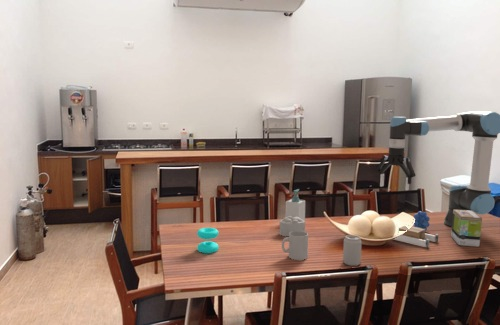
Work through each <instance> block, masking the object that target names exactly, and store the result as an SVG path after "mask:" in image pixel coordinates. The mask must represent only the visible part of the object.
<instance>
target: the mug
mask: <svg viewBox="0 0 500 325" xmlns="http://www.w3.org/2000/svg"><path fill="white" fill-rule="evenodd" d="M286 242H288V248H285V243H286ZM308 249H309V233H308V232H306V231H305V232H304V231H292V232H290V233H289V237H284V238H283V239H282V241H281V250H282V251H283V253H287V254H288V257H289V259H290V258H291V259H290V260H293V259H294V260H293V261H305V260H307V259H308V257H309V254H308V253H309V251H308ZM304 259H305V260H304Z"/></svg>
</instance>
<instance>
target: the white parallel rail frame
mask: <svg viewBox="0 0 500 325" xmlns="http://www.w3.org/2000/svg"><path fill="white" fill-rule="evenodd" d="M439 236H440V234H439V233H435V235H434V234H429V233H426V232H425V240H422V239H417V238H413V237H409V236H404V235H401V236H399V237H397V238H395V239H393V240H394V241H398V242H402V243H407V244H411V245H414V246H419V247H423V248H427V249H428V248H430V242H434V243H439Z"/></svg>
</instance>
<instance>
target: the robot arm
mask: <svg viewBox="0 0 500 325" xmlns="http://www.w3.org/2000/svg"><path fill="white" fill-rule="evenodd" d="M452 130H453V131H455V132H469V133H472V135H471V137H472V138H473V139H474V145H473V146H474V147H473V154H472V155H473V156H472V165H471V172H470V182H469V184H452V185H450V187H449V190H448V192H449V195H448V209H447V212H446V214H445V217H444V219H443V220H444V221H443V223H444V225H447V226H449V227H452V217H453V210H470V211H474V212H475V213H477V214H478V215H480V216H483V215H486V214H489V213H490V212H491V211H492V210H493V209H494V207H495V203H496V201H495V198H494V196H493V195H492V189H491V188H490V187H489V186H490V185H489V182H490V181H489V180H490V175H491V174H490V173H491V166H492V159H493V158H492V155H493V148H494V141H495V140H497V139H498V135H499V134H500V113H498V112H497V111H490V110H487V111H485V110H484V111H483V110H481V111H480V110H471V111H466V112H460V113H454V114H453V115H449V116H447V115H446V116H435V117H422V118H408V119H407V117H406V116H392V117H391V118H390V124H389V141H388V142H389V143H388V146H389V147H388V155H385V154H384V155H382V157H381V161H380V163H379V165H378V166H377V168H376V170H375V173H378V180H379V181H380V182H379V187H381V188H382V187H384V185H385V171H386V170H388V169H389V168H390V166H396V167H400V168H401V170H402V171H403V173H404V174H405V175H406V177H405V188H404V190H405V192H406V191H409V190H410V185H411V184H412V178H413V177H416V175H417V174H416V173H415V170H414V168H413V166H412V163H411V157H405V146H406V137H408V136H415V137H416V136H420V137H421V136H426V135H427V134H428V133H430V132H436V131H437V132H440V131H441V132H442V131H452ZM386 161H388V162H387V163H386ZM404 162H405V163H404ZM385 163H386V164H385ZM405 164H406V165H405ZM383 166H384V167H383ZM406 166H407V167H406Z"/></svg>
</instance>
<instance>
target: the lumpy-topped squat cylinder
mask: <svg viewBox="0 0 500 325" xmlns="http://www.w3.org/2000/svg"><path fill="white" fill-rule="evenodd" d="M292 231H304V232H306V220H305V221H304V220H302V219H301V218H299V217H294V218H292V217H291V216H288V217H286V218H285V217H283V219H280V221H279V235H280V236H281V235H282V237H286V236H289V233H290V232H292Z"/></svg>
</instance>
